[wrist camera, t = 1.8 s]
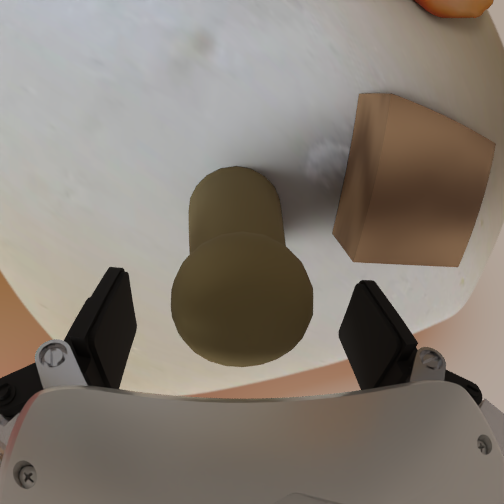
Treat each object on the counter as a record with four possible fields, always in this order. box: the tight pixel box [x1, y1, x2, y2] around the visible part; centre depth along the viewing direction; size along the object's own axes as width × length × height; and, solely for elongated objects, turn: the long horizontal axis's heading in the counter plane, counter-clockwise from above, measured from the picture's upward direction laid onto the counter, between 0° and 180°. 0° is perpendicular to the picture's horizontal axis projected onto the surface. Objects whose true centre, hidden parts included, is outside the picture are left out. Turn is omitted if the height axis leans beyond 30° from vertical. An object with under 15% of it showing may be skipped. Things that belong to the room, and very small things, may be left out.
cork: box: [171, 166, 313, 367], centre depth 14 cm, size 6×6×11 cm
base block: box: [332, 93, 496, 267], centre depth 16 cm, size 10×10×4 cm
